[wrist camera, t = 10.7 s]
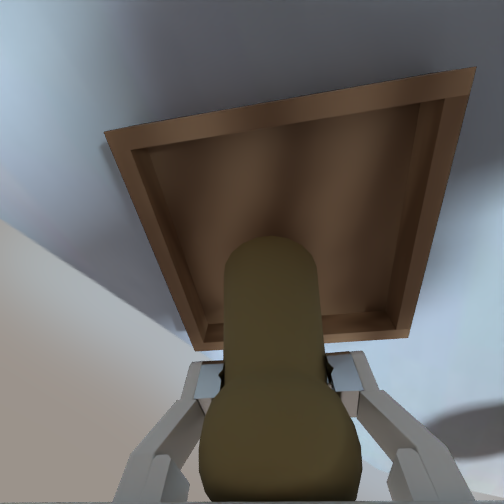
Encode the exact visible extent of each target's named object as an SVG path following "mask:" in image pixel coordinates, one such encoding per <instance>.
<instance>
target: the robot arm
mask: <svg viewBox="0 0 504 504" xmlns="http://www.w3.org/2000/svg"><path fill="white" fill-rule="evenodd" d="M325 361H326V369H327V380H328V386H329V387H330V388H331V389H332V390H333V391H334V392H336V393H337V394H338V396H339V397H340V399H341V401H342V403H343V404H344V406H345V408H346V410H347V412H348V414H349V416H350V417H357V419H358V420H359V422H360V423H361V424H362V425H363V426H364V428H365V429H366V430H367V431H368V433H369V434H370V435H371V436H372V437H373V439H374V440H375V441H376V442H377V443H378V445H379V446H380V447H381V448H382V450H383V451H384V452H385V453H386V454H387V456H388V457H389V458H390V459H391V461H392V462H393V465H392V468H391V471H390V474H389V477H388V480H387V485H388V488H389V491H390V494H391V497H392V501H285V502H187V498H188V491H189V486H190V484H189V482H188V481H187V479H186V478H185V476H184V475H183V474H182V472H181V471H180V470H181V468H182V466H183V465H184V463H185V461H186V460H187V458H188V457H189V455H190V454H191V452H192V450H193V449H194V447H195V445H196V444H197V442H198V440H199V439H200V437H201V432H202V427H203V422H204V418H205V415H206V413H207V411H208V408H209V406H210V404H211V401H212V400H213V399H214V397H215V396H216V395H217V394H218V393H219V391H220V390H221V389H222V388H223V380H224V367H225V360H220V361H200V362H192V363H191V365H190V366H189V370H188V374H187V377H186V381H185V385H184V388H183V392H182V396H181V399H180V400H177V401H176V402H175V403H174V404H173V405H172V407H171V408H170V409H169V410H168V411H167V413H166V414H165V415H164V416H163V417H162V418H161V419H160V421H159V422H158V423H157V424H156V425H155V426H154V428H153V429H152V430H151V431H150V432H149V433H148V435H147V436H146V437H145V438H144V439H143V440H142V442H141V443H140V444H139V445H138V446H137V447H136V448H135V449H134V451H133V452H132V453H131V454H130V457H129V459H128V462H127V465H126V467H125V470H124V473H123V476H122V478H121V481H120V483H119V486H118V489H117V492H116V494H115V497H114V499H113V502H76V503H75V502H72V503H71V502H68V503H66V502H62V503H61V502H56V503H55V502H54V503H0V504H504V501H475V499H474V497H473V495H472V493H471V491H470V489H469V487H468V486H467V484H466V482H465V480H464V478H463V476H462V474H461V472H460V471H459V469H458V467H457V465H456V463H455V461H454V459H453V457H452V455H451V454H450V452H449V450H448V448H447V446H446V445H444V444H443V443H442V442H441V441H440V440H439V439H438V438H437V437H436V436H434V435H433V434H432V433H431V432H430V431H429V430H428V429H427V428H425V427H424V426H423V425H422V424H421V423H420V422H419V421H418V420H416V419H415V418H414V417H413V416H412V415H411V414H410V413H409V412H407V411H406V410H405V409H404V408H403V407H402V406H401V405H400V404H398V403H397V402H396V401H395V400H394V399H393V398H392V397H391V396H390V395H388V394H387V393H386V392H385V391H384V390H379V388H378V385H377V383H376V380H375V378H374V375H373V373H372V371H371V368H370V366H369V363H368V361H367V358H366V356H365V353H364V352H363V351H352V352H349V351H347V352H335V353H325Z"/></svg>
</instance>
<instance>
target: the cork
mask: <svg viewBox="0 0 504 504" xmlns="http://www.w3.org/2000/svg"><path fill="white" fill-rule="evenodd" d="M223 360H225V367H224V380H223V388H222V389H221V390H220V391H219V393H218V394H217V395H216V396H215V397H214V399H213V400H212V401H211V404H210V406H209V408H208V411H207V413H206V415H205V418H204V422H203V427H202V432H201V437H200V444H199V473H200V476H201V480H202V483H203V487H204V490H205V493H206V494H207V496H208V497H209V499H210V500H211V501H212V502H285V501H355V500H356V498H357V493H358V488H359V483H360V478H361V473H362V457H361V445H360V442H359V439H358V435H357V432H356V429H355V425H354V423H353V421H352V419H351V418H350V416H349V414H348V412H347V410H346V408H345V406H344V404H343V403H342V401H341V399H340V397H339V396H338V394H337V393H336V392H334V391H333V390H332V389H331V388H330V387H329V386H328V380H327V369H326V361H325V348H324V338H323V328H322V317H321V307H320V296H319V286H318V275H317V266H316V264H315V261H314V259H313V257H312V255H311V254H310V253H309V252H308V251H307V250H306V249H305V248H304V247H303V246H302V245H301V244H299V243H297V242H295V241H293V240H291V239H289V238H283V237H277V236H265V237H257V238H254V239H252V240H250V241H247V242H245V243H242V244H241V245H240V246H239V247H238V248H237V249H235V250H234V251H233V252H232V253H231V255H230V256H229V258H228V260H227V262H226V264H225V270H224V343H223Z"/></svg>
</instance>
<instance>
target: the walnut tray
mask: <svg viewBox="0 0 504 504" xmlns="http://www.w3.org/2000/svg"><path fill="white" fill-rule="evenodd" d="M475 71H476V67H470V68H463V69H456V70H449V71H442V72H436V73H430V74H424V75H419V76H413V77H407V78H401V79H396V80H390V81H384V82H379V83H373V84H367V85H362V86H356V87H350V88H345V89H339V90H333V91H327V92H322V93H316V94H310V95H305V96H299V97H293V98H288V99H282V100H276V101H271V102H265V103H259V104H253V105H248V106H242V107H236V108H231V109H225V110H219V111H214V112H208V113H202V114H197V115H191V116H185V117H179V118H174V119H168V120H162V121H157V122H151V123H145V124H140V125H134V126H129V127H124V128H119V129H115V130H110V131H105V132H104V134H105V137H106V139H107V142H108V144H109V146H110V149H111V151H112V154H113V156H114V158H115V161H116V163H117V166H118V168H119V170H120V173H121V175H122V178H123V180H124V182H125V185H126V187H127V190H128V192H129V194H130V197H131V199H132V202H133V204H134V206H135V209H136V211H137V214H138V216H139V218H140V221H141V223H142V226H143V228H144V230H145V233H146V235H147V238H148V240H149V242H150V245H151V247H152V250H153V252H154V254H155V257H156V259H157V262H158V264H159V266H160V269H161V271H162V274H163V276H164V278H165V281H166V283H167V286H168V288H169V290H170V293H171V295H172V298H173V300H174V302H175V305H176V307H177V310H178V312H179V314H180V317H181V319H182V322H183V324H184V326H185V329H186V331H187V334H188V336H189V338H190V341H191V343H192V346H193V348H194V350H195V351H210V350H223V343H224V270H225V264H226V262H227V260H228V258H229V256H230V255H231V253H232V252H233V251H234V250H235V249H237V248H238V247H239V246H240V245H241V244H242V243H245V242H247V241H250V240H252V239H254V238H257V237H265V236H277V237H283V238H289V239H291V240H293V241H295V242H297V243H299V244H301V245H302V246H303V247H304V248H305V249H306V250H307V251H308V252H309V253H310V254H311V255H312V257H313V259H314V261H315V264H316V266H317V275H318V286H319V296H320V307H321V317H322V328H323V338H324V343H336V342H351V341H367V340H383V339H398V338H408V336H409V332H410V328H411V324H412V320H413V316H414V313H415V309H416V305H417V301H418V297H419V293H420V289H421V285H422V281H423V277H424V273H425V269H426V265H427V261H428V257H429V253H430V249H431V245H432V241H433V237H434V233H435V229H436V226H437V222H438V218H439V214H440V210H441V206H442V202H443V198H444V194H445V190H446V186H447V182H448V178H449V174H450V170H451V166H452V162H453V158H454V154H455V150H456V146H457V143H458V139H459V135H460V131H461V127H462V123H463V119H464V115H465V111H466V107H467V103H468V99H469V95H470V91H471V87H472V83H473V79H474V75H475Z"/></svg>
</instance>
